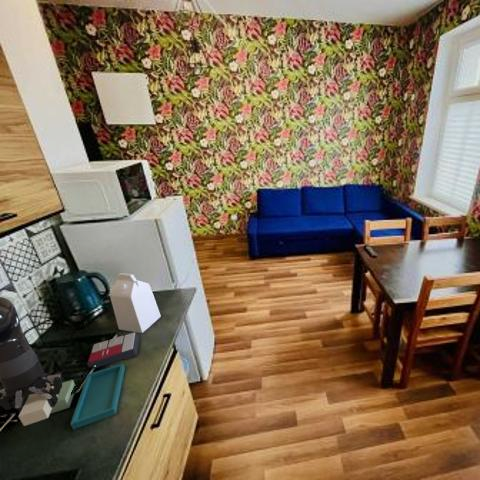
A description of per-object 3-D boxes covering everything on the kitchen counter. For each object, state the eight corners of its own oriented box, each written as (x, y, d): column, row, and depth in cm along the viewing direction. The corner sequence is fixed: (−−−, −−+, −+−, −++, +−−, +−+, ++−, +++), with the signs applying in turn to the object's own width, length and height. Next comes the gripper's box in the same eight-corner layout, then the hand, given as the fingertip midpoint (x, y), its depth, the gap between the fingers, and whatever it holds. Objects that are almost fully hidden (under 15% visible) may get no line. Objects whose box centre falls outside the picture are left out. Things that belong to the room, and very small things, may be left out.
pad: (23, 426, 73) (18, 416, 72) (35, 401, 80) (30, 392, 78) (48, 418, 76) (42, 408, 74) (57, 394, 82) (53, 385, 81)
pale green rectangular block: (49, 414, 84) (44, 405, 83) (58, 393, 91) (53, 385, 89) (69, 407, 86) (64, 399, 85) (76, 387, 93) (72, 379, 91)
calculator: (92, 343, 107) (136, 330, 113) (96, 351, 109) (139, 337, 115) (85, 363, 98) (133, 347, 104) (90, 371, 100) (136, 355, 106)
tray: (73, 429, 80) (70, 424, 79) (89, 379, 96) (87, 374, 95) (115, 414, 84) (113, 408, 83) (125, 368, 100) (123, 363, 100)
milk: (160, 316, 128) (148, 269, 118) (142, 333, 118) (126, 282, 108) (139, 313, 130) (124, 266, 120) (118, 329, 120) (101, 279, 110)
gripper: (-30, 387, 65) (0, 432, 71) (48, 366, 71) (69, 409, 78) (-13, 364, 71) (13, 408, 78) (57, 347, 77) (76, 388, 84)
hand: (41, 408), depth 78 cm, fingers closed on pad, 5 cm apart
